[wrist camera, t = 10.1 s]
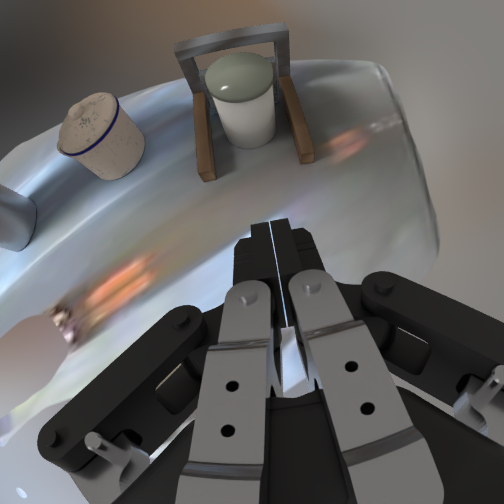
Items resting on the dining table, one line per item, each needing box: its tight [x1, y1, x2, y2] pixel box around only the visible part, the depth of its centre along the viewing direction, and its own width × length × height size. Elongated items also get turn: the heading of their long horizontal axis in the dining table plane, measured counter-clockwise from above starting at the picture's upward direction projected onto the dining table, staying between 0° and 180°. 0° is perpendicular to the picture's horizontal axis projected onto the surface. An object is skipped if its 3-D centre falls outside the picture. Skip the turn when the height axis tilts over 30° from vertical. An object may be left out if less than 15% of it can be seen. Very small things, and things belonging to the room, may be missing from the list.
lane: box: [174, 22, 315, 182], centre depth 29 cm, size 13×14×10 cm
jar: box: [205, 52, 276, 149], centre depth 29 cm, size 7×7×10 cm
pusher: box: [199, 57, 279, 114], centre depth 31 cm, size 9×6×8 cm, turn 98°
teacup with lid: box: [57, 93, 145, 180], centre depth 30 cm, size 12×9×12 cm
